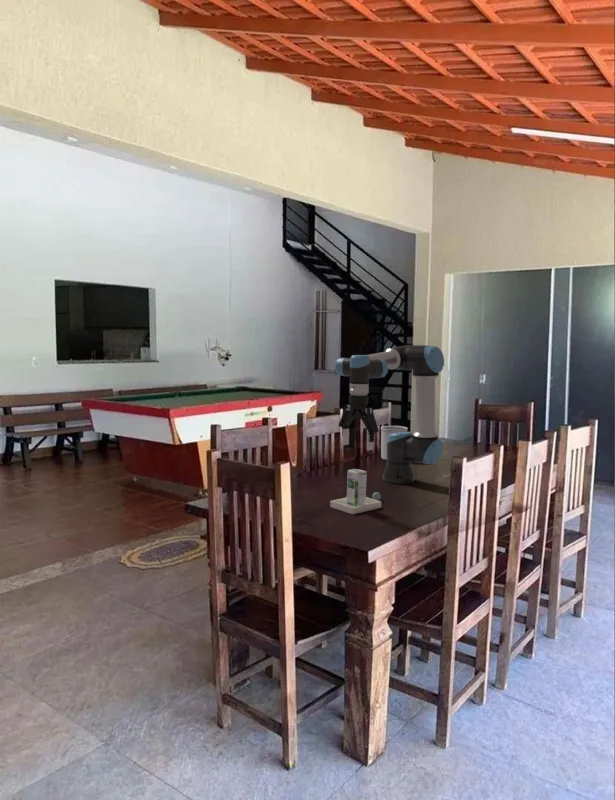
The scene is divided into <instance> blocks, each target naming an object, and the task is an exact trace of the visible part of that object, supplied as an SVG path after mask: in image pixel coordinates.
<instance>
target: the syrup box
mask: <svg viewBox="0 0 615 800" xmlns="http://www.w3.org/2000/svg"><path fill="white" fill-rule="evenodd" d="M367 472H368V471H367V470H362V469H357V468H352V469H348V470H347V474H346V475H347V477H346V480H347V481H346V483H347V484H346V497H347V503H346V505H347V506H351V507H357V506H361V505H365V504H366V497H367V476H368V475H367Z"/></svg>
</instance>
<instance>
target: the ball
mask: <svg viewBox="0 0 615 800" xmlns="http://www.w3.org/2000/svg"><path fill="white" fill-rule="evenodd" d="M371 497H372V498H371V499H374V500H378V501H380V500H381V497H382V495H381V493H380V492H377V491H376V492H373V494H372V495H371Z"/></svg>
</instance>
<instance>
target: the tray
mask: <svg viewBox="0 0 615 800" xmlns="http://www.w3.org/2000/svg"><path fill="white" fill-rule="evenodd" d="M329 503H330V504H329V505H330V506H329V507H330V508H331V509H335V510H338V511H340V512H344V513H347V514H349V515H357V514H361V513H364V512H368V511H374V510H377V509H381V508H382V501H380V500H374V499H373V498H371V497H368V496H366V504H365V505H361V506H357V507H351V506H347V505H346V503H347V496H345V497H342V498H338V499H333V500H330V502H329Z"/></svg>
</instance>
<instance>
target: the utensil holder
mask: <svg viewBox="0 0 615 800" xmlns="http://www.w3.org/2000/svg"><path fill="white" fill-rule="evenodd" d="M380 430H381V431H380V432H381V434H380V435H381V437H380V439H381V440H380V442H381V443H380V456H381V459H382V460H386V461H387V441H388V435H389V434H391V433H396V432H408V430H409V428H408V427H406V426H403V425H402V426H401V425H384V426H383V425H382V426H381V427H380Z"/></svg>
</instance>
